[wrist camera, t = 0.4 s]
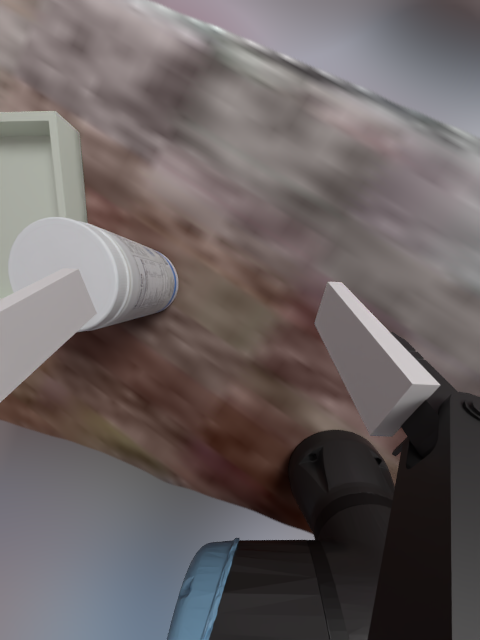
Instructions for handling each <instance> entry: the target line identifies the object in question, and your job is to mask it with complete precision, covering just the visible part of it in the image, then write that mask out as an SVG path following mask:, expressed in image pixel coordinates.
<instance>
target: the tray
mask: <svg viewBox="0 0 480 640" xmlns="http://www.w3.org/2000/svg"><path fill="white" fill-rule="evenodd" d="M48 217H64V218H69V219H73V220H76V221H81V222H85V223H87V212H86V200H85V189H84V177H83V166H82V154H81V143H80V133H79V132H78V131H77V130H76V129H75V128H74V127H73V126H72V125H70V124H69V123H68V122H67V121H66V120H65V119H64V118H63V117H62V116H60V115H59V114H58V113H57V112H56V111H34V112H0V300H1V299H3V298H5V297H7V296H9V295H11V294H13V293H14V292H13V290H12V287H11V284H10V280H9V275H8V259H9V254H10V250H11V247H12V245H13V243H14V241H15V239H16V238H17V236H18V235H19V233H20V232H21V231H22V230H23V229H24V228H26V227H27V226H28V225H30V224H31V223H33V222H35V221H37V220H40V219H43V218H48Z"/></svg>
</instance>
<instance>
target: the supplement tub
mask: <svg viewBox="0 0 480 640" xmlns="http://www.w3.org/2000/svg"><path fill="white" fill-rule="evenodd" d="M63 268H71V269H79V271H80V274H81V276H82V278H83V281H84V283H85V286H86V288H87V291H88V293H89V295H90V298H91V300H92V303H93V305H94V308H95V310H96V312H97V314H96V315H94V316H93V317H92V318H91V319H90V320H89V321H88V322H87V323H86V324H85V325H84V326H83V327H81V328H80V329H79V330H78V331H77V332H81V331H90V330H95V329H99V328H103V327H107V326H111V325H114V324H118V323H121V322H125V321H129V320H132V319H136V318H140V317H143V316H147V315H151V314H154V313H158V312H160V311H163V310H164V309H166V308H167V307H168V306H169V305H170V304H171V303H172V302H173V300H174V299H175V297H176V294H177V291H178V276H177V273H176V270H175V268H174V266H173V264H172V263H171V262H170V261H169V259H168V258H167V257H165V256H164V255H163V254H161V253H160V252H158V251H155V250H153V249H151V248H148V247H146V246H143V245H141V244H138V243H136V242H134V241H131V240H129V239H126V238H124V237H121V236H119V235H116V234H114V233H111V232H109V231H106V230H104V229H101V228H99V227H96V226H94V225H91V224H88V223H85V222H81V221H76V220H73V219H69V218H64V217H48V218H43V219H40V220H37V221H35V222H33V223H31V224H30V225H28V226H27V227H26V228H24V229H23V230H22V231H21V232H20V233H19V235H18V236H17V238H16V239H15V241H14V243H13V245H12V247H11V250H10V254H9V259H8V275H9V280H10V284H11V287H12V290H13V292H14V293H15V292H17V291H19V290H21V289H23V288H25V287H27V286H29V285H31V284H33V283H35V282H37V281H39V280H41V279H43V278H45V277H47V276H49V275H51V274H53V273H55V272H57V271H59V270H61V269H63Z"/></svg>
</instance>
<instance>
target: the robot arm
mask: <svg viewBox="0 0 480 640" xmlns="http://www.w3.org/2000/svg"><path fill="white" fill-rule="evenodd" d="M96 314H97V312H96V310H95V308H94V305H93V303H92V300H91V298H90V295H89V293H88V291H87V288H86V286H85V283H84V281H83V278H82V276H81V274H80V271H79V269H71V268H63V269H61V270H59V271H57V272H55V273H53V274H51V275H49V276H47V277H45V278H43V279H41V280H39V281H37V282H35V283H33V284H31V285H29V286H27V287H25V288H23V289H21V290H19V291H17V292H15V293H13V294H11V295H9V296H7V297H5V298H3V299H1V300H0V402H1V401H2V400H3V399H4V398H6V397H7V396H8V395H9V394H10V393H11V392H12V391H13V390H14V389H15V388H16V387H17V386H19V385H20V384H21V383H22V382H23V381H24V380H25V379H26V378H27V377H28V376H29V375H30V374H32V373H33V372H34V371H35V370H36V369H37V368H38V367H39V366H40V365H41V364H42V363H43V362H45V361H46V360H47V359H48V358H49V357H50V356H51V355H52V354H53V353H54V352H55V351H57V350H58V349H59V348H60V347H61V346H62V345H63V344H64V343H65V342H66V341H67V340H68V339H70V338H71V337H72V336H73V335H74V334H75V333H76V332H77V331H78V330H79V329H80V328H81V327H83V326H84V325H85V324H86V323H87V322H88V321H89V320H90V319H91V318H92V317H93V316H94V315H96ZM314 324H315V326H316V328H317V330H318V332H319V334H320V336H321V338H322V340H323V342H324V344H325V346H326V348H327V350H328V352H329V354H330V356H331V358H332V360H333V362H334V364H335V366H336V368H337V370H338V372H339V374H340V376H341V378H342V380H343V382H344V384H345V386H346V388H347V390H348V392H349V394H350V396H351V398H352V400H353V402H354V404H355V406H356V408H357V410H358V412H359V414H360V416H361V418H362V420H363V422H364V424H365V426H366V428H367V430H368V432H369V434H370V436H393V435H394V434H395V433H396V432H397V431H398V430H399V429H400V428H401V427H402V429H403V430H404V432H405V433H406V435H407V436H408V437H407V438H406V439H405V440H404V441H403V442H402V443H401V444H400V445H399V446H398V447H397V448H396V449H395V450H394V451H393V453H392V454H393V455H394V456H396V455H398V454H399V453H400V452H401V456H400V462H399V467H398V473H397V479H396V484H395V486H394V483H393V480H392V477H391V474H390V472H389V469H388V467H387V465H386V463H385V461H384V460H383V458H382V457H381V455H380V454H379V453H378V451H377V450H376V449H375V448H374V446H373V445H372V444H371V443H370V442H369V441H367V440H366V439H364V438H363V437H361V436H359V435H357V434H355V433H352V432H348V431H342V430H330V431H324V432H320V433H317V434H314V435H312V436H310V437H309V438H307V439H305V440H304V441H303V442H302V443H301V444H300V445H299V446H298V447H297V448H296V449H295V451H294V452H293V454H292V456H291V458H290V461H289V466H288V475H289V481H290V486H291V490H292V493H293V496H294V498H295V500H296V502H297V504H298V506H299V508H300V510H301V511H302V513H303V515H304V517H305V519H306V521H307V523H308V524H309V526H310V528H311V530H312V532H313V534H314V537H315V540H254V541H253V540H250V541H248V540H246V541H239V538H235V539H234V541H223V542H213V543H208V544H206V545H204V546H203V547H202V548H201V549H200V550H199V551H198V552H197V553H196V555H195V556H194V558H193V560H192V562H191V564H190V566H189V568H188V571H187V573H186V576H185V578H184V581H183V584H182V587H181V590H180V593H179V597H178V600H177V604H176V607H175V610H174V614H173V618H172V621H171V625H170V629H169V633H168V637H167V640H480V397H478V396H475V395H472V394H469V393H463V392H457V391H456V390H455V389H454V388H453V387H452V386H451V385H450V384H449V383H448V382H447V381H446V380H445V379H444V378H443V377H442V376H441V375H440V374H439V373H438V372H437V371H436V370H435V369H434V368H433V367H432V366H431V365H430V364H429V363H428V362H427V361H426V360H423V357H422V356H421V355H420V354H419V353H418V352H415V349H414V348H413V347H412V346H411V345H410V344H409V343H408V342H407V341H406V340H404V339H403V338H401V337H399V336H398V335H396V334H395V333H393V332H389V331H388V330H387V329H386V328H385V327H384V326H383V325H382V324H381V323H380V322H379V321H378V320H377V319H376V317H375V316H374V315H373V314H372V313H371V312H370V311H369V310H368V309H367V308H366V307H365V306H364V305H363V304H362V303H361V302H360V301H359V300H358V299H357V298H356V297H355V296H354V295H353V294H352V293H351V291H350V290H349V289H348V288H347V287H346V286H345V285H344V284H343V283H342V282H327V285H326V288H325V291H324V295H323V298H322V301H321V304H320V307H319V310H318V314H317V317H316V320H315V323H314Z"/></svg>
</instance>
